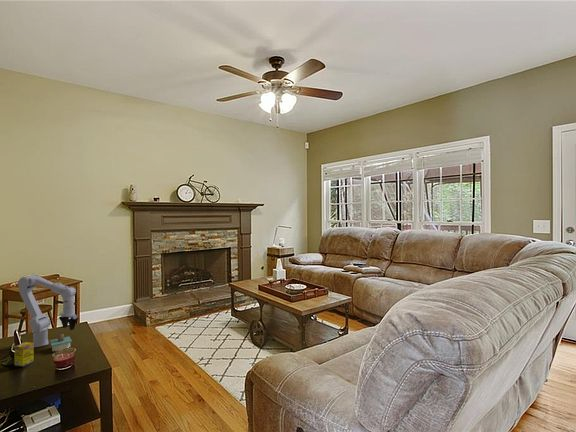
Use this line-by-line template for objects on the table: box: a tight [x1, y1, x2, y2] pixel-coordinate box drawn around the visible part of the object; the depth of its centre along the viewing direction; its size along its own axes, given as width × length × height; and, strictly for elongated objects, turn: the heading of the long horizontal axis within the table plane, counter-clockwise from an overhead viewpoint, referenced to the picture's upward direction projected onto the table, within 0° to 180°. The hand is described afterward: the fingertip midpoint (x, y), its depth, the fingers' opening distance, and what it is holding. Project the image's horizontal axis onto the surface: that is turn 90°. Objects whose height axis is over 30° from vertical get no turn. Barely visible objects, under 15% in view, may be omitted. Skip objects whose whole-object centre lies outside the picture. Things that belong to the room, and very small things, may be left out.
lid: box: [49, 332, 73, 348], centre depth 194 cm, size 10×10×5 cm
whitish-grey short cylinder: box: [51, 343, 71, 352], centre depth 194 cm, size 9×9×4 cm
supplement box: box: [13, 341, 35, 368], centre depth 174 cm, size 6×6×11 cm
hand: (68, 328), depth 201 cm, fingers open, 7 cm apart
